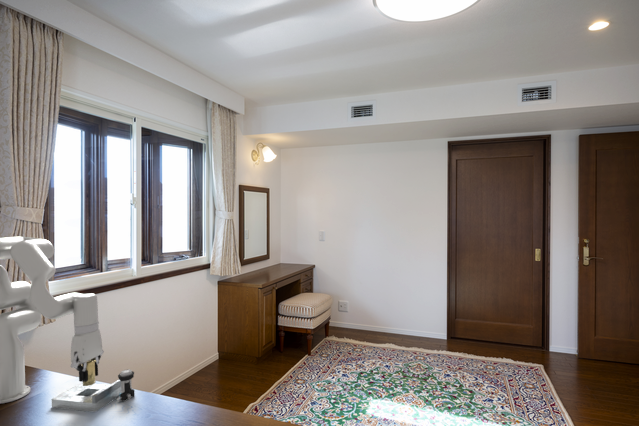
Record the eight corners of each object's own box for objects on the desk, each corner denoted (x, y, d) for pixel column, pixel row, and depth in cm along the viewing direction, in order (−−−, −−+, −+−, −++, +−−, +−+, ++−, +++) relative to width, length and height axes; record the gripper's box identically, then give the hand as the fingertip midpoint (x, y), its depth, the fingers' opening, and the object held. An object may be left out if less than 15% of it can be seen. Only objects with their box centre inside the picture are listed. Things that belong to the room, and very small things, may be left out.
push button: (121, 405, 134) (121, 377, 134) (111, 402, 137) (111, 374, 136) (138, 396, 140) (137, 369, 140) (128, 393, 143) (127, 367, 142)
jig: (51, 407, 134) (51, 392, 134) (81, 390, 146) (81, 376, 146) (95, 412, 130) (95, 396, 130) (122, 393, 143) (122, 379, 143)
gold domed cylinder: (80, 385, 136) (79, 363, 136) (88, 380, 140) (88, 359, 140) (89, 386, 136) (88, 364, 136) (98, 381, 140) (97, 359, 140)
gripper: (95, 321, 147) (97, 368, 147) (57, 335, 130) (60, 388, 131) (112, 321, 145) (114, 369, 145) (76, 336, 129) (78, 389, 129)
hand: (88, 377), depth 138 cm, fingers closed on gold domed cylinder, 4 cm apart
